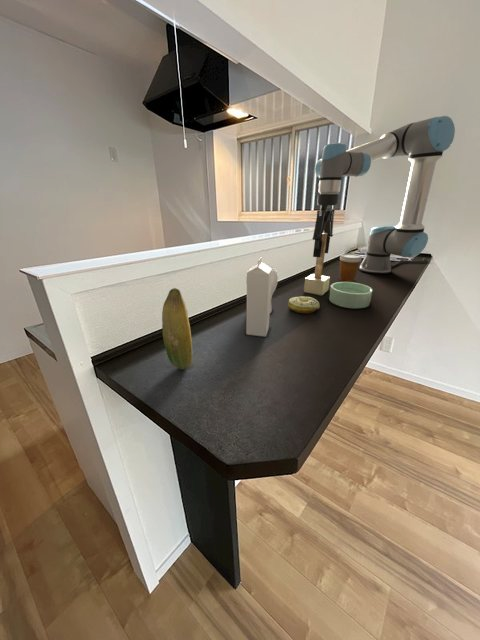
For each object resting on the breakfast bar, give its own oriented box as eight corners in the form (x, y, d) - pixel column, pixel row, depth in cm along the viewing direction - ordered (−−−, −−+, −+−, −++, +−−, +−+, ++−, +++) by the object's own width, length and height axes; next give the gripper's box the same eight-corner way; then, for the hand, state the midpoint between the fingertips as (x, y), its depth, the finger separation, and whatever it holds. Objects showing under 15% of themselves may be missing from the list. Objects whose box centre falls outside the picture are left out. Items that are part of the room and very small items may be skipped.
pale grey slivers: (273, 305, 99) (275, 265, 93) (278, 316, 90) (280, 273, 83) (245, 305, 99) (245, 265, 92) (246, 317, 89) (247, 274, 83)
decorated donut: (324, 312, 93) (326, 302, 92) (299, 317, 89) (300, 306, 88) (306, 302, 102) (307, 292, 100) (283, 306, 98) (283, 296, 96)
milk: (246, 334, 78) (246, 260, 69) (250, 325, 84) (250, 256, 74) (266, 337, 77) (269, 261, 67) (269, 327, 82) (272, 256, 73)
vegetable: (199, 371, 62) (192, 291, 53) (173, 381, 59) (162, 297, 50) (189, 359, 66) (181, 283, 58) (164, 367, 63) (152, 288, 55)
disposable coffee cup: (335, 282, 125) (339, 256, 120) (336, 277, 133) (340, 253, 128) (356, 284, 122) (362, 258, 116) (357, 279, 129) (362, 254, 124)
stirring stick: (314, 289, 115) (321, 232, 105) (319, 290, 114) (327, 232, 103) (312, 291, 113) (319, 233, 103) (317, 292, 112) (325, 233, 102)
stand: (310, 287, 119) (312, 274, 116) (328, 290, 114) (330, 276, 112) (303, 291, 113) (305, 278, 110) (322, 295, 108) (324, 281, 106)
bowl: (334, 293, 111) (337, 279, 108) (372, 300, 103) (375, 285, 101) (323, 304, 100) (326, 289, 97) (364, 313, 92) (368, 296, 90)
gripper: (327, 193, 107) (320, 249, 117) (308, 193, 91) (301, 258, 101) (346, 193, 103) (337, 251, 113) (329, 193, 87) (320, 261, 97)
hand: (320, 254), depth 107 cm, fingers open, 9 cm apart
